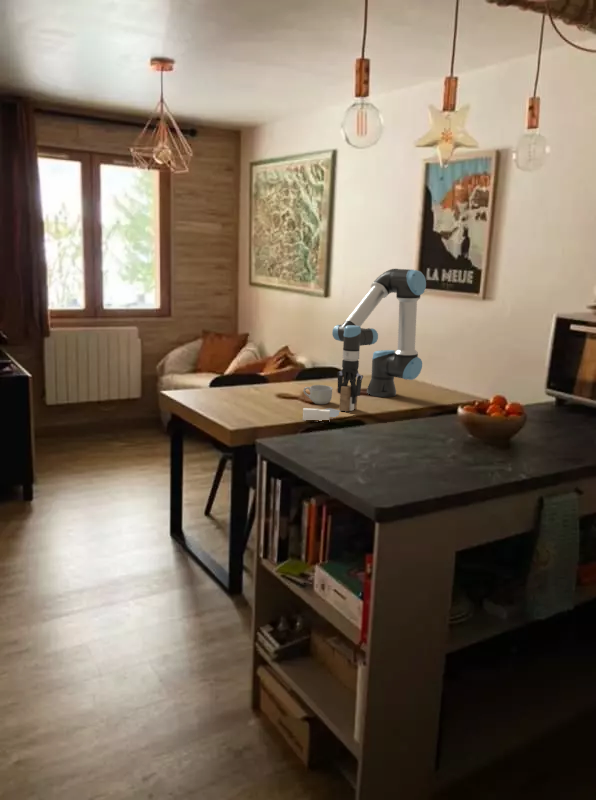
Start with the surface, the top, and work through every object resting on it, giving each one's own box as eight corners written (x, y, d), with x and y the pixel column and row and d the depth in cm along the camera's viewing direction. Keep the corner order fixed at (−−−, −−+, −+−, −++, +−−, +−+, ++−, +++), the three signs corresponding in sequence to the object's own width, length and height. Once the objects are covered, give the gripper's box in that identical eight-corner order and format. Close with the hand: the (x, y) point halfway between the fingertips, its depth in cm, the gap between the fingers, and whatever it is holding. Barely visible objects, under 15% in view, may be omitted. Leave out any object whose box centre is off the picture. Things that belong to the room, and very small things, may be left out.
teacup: (334, 402, 330) (335, 386, 328) (328, 406, 320) (329, 390, 318) (307, 399, 334) (308, 383, 332) (300, 403, 324) (301, 387, 322)
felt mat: (329, 408, 315) (329, 408, 315) (357, 415, 306) (357, 414, 306) (310, 413, 305) (311, 412, 304) (339, 420, 295) (340, 419, 295)
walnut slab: (350, 407, 318) (352, 384, 316) (356, 409, 316) (358, 385, 314) (339, 410, 311) (341, 386, 309) (345, 411, 309) (347, 387, 307)
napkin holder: (295, 420, 293) (295, 408, 291) (311, 416, 301) (311, 404, 300) (322, 427, 284) (323, 414, 282) (338, 423, 292) (339, 410, 291)
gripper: (331, 358, 311) (328, 407, 316) (361, 363, 301) (358, 414, 306) (340, 356, 316) (338, 405, 322) (370, 361, 306) (367, 411, 312)
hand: (347, 409), depth 314 cm, fingers closed on walnut slab, 3 cm apart
